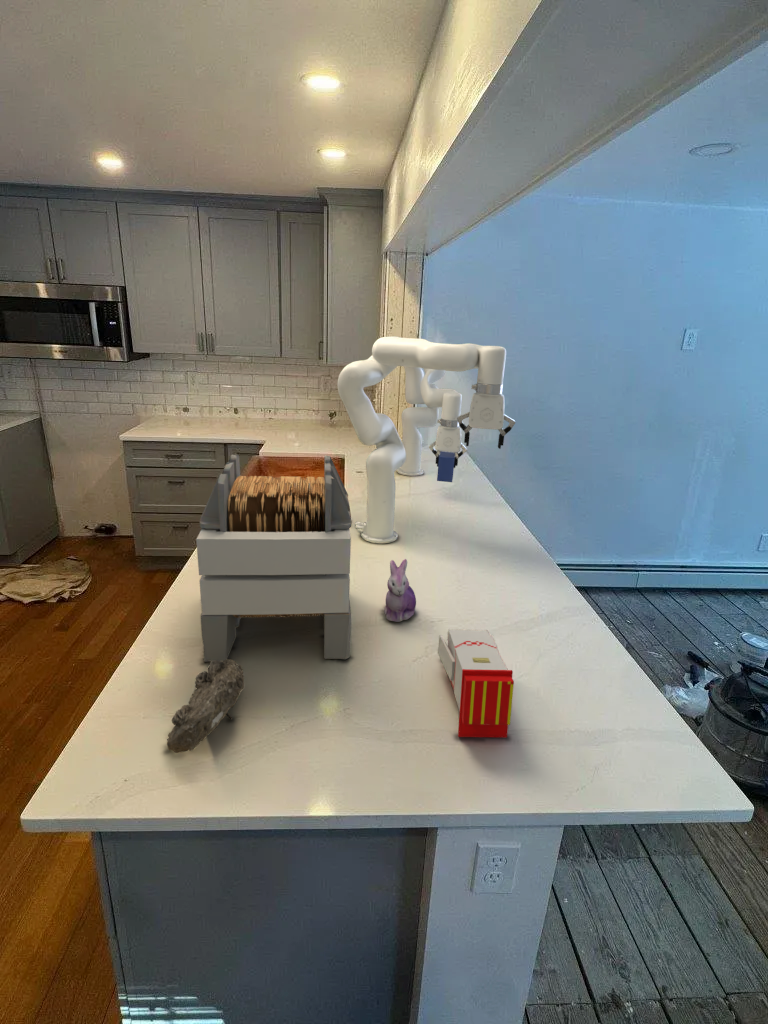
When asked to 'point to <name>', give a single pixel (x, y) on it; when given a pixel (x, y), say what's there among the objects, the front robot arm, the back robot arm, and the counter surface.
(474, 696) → the toy
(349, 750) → the counter surface
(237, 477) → the record crate
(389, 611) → the figurine
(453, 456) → the block
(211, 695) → the fossil
